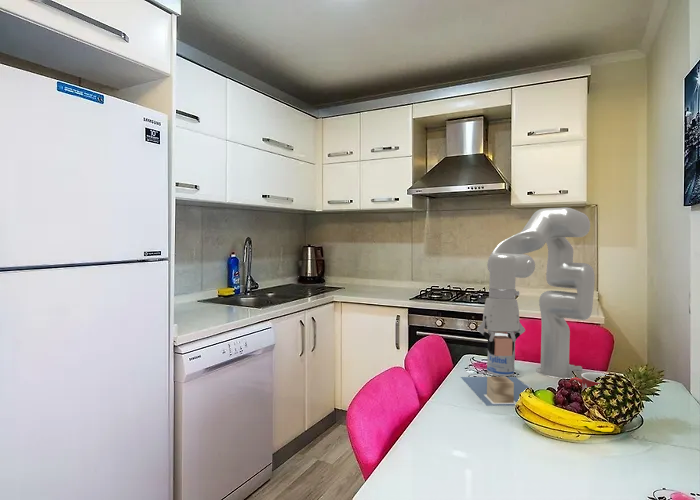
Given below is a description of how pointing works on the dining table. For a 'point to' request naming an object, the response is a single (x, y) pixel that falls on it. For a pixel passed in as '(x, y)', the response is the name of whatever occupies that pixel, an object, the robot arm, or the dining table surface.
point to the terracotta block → (503, 346)
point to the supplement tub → (501, 362)
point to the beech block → (500, 389)
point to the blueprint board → (481, 389)
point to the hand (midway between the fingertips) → (500, 352)
